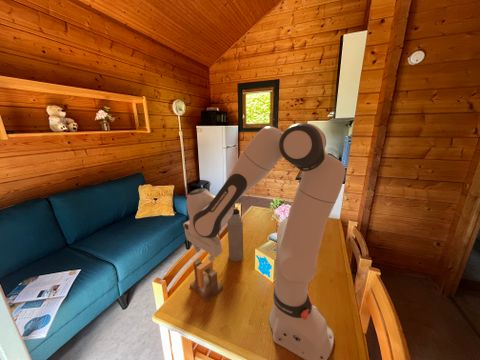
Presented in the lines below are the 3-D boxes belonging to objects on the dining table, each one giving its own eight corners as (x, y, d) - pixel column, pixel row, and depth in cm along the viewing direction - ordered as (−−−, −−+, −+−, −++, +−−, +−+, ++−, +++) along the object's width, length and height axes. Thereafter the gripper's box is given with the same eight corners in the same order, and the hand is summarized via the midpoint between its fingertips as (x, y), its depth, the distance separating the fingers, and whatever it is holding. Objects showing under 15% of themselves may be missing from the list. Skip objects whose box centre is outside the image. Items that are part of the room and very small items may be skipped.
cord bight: (213, 279, 92) (212, 261, 89) (201, 288, 87) (199, 269, 84) (210, 276, 93) (209, 258, 90) (198, 285, 88) (196, 267, 85)
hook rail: (223, 288, 90) (222, 268, 87) (207, 301, 84) (205, 280, 80) (205, 274, 98) (204, 255, 95) (190, 286, 92) (187, 266, 88)
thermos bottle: (244, 252, 113) (243, 207, 105) (241, 262, 106) (240, 215, 98) (230, 251, 115) (229, 206, 106) (227, 260, 108) (225, 213, 99)
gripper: (224, 232, 77) (226, 262, 81) (193, 217, 90) (196, 243, 94) (212, 239, 73) (215, 271, 77) (180, 222, 86) (184, 250, 90)
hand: (204, 255), depth 86 cm, fingers open, 8 cm apart
